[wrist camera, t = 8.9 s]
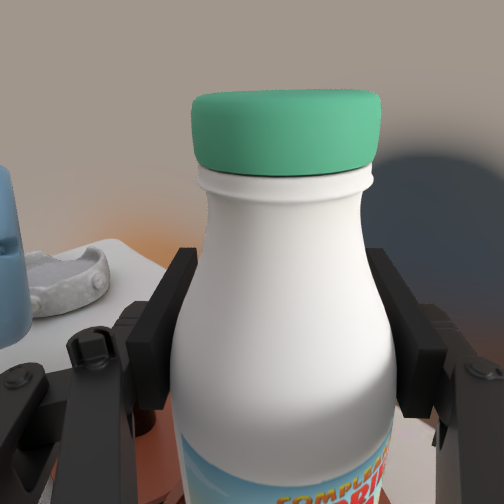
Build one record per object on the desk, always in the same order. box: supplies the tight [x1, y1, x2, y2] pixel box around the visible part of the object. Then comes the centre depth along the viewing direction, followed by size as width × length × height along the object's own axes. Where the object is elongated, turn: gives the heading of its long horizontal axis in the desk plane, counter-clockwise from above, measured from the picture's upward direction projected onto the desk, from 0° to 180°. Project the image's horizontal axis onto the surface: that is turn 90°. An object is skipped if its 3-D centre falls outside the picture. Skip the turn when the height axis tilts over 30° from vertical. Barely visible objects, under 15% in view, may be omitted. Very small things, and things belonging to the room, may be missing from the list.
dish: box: [24, 247, 110, 317], centre depth 50 cm, size 14×14×5 cm
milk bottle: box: [170, 89, 397, 504], centre depth 13 cm, size 8×8×20 cm
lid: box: [51, 391, 182, 504], centre depth 28 cm, size 13×13×9 cm
